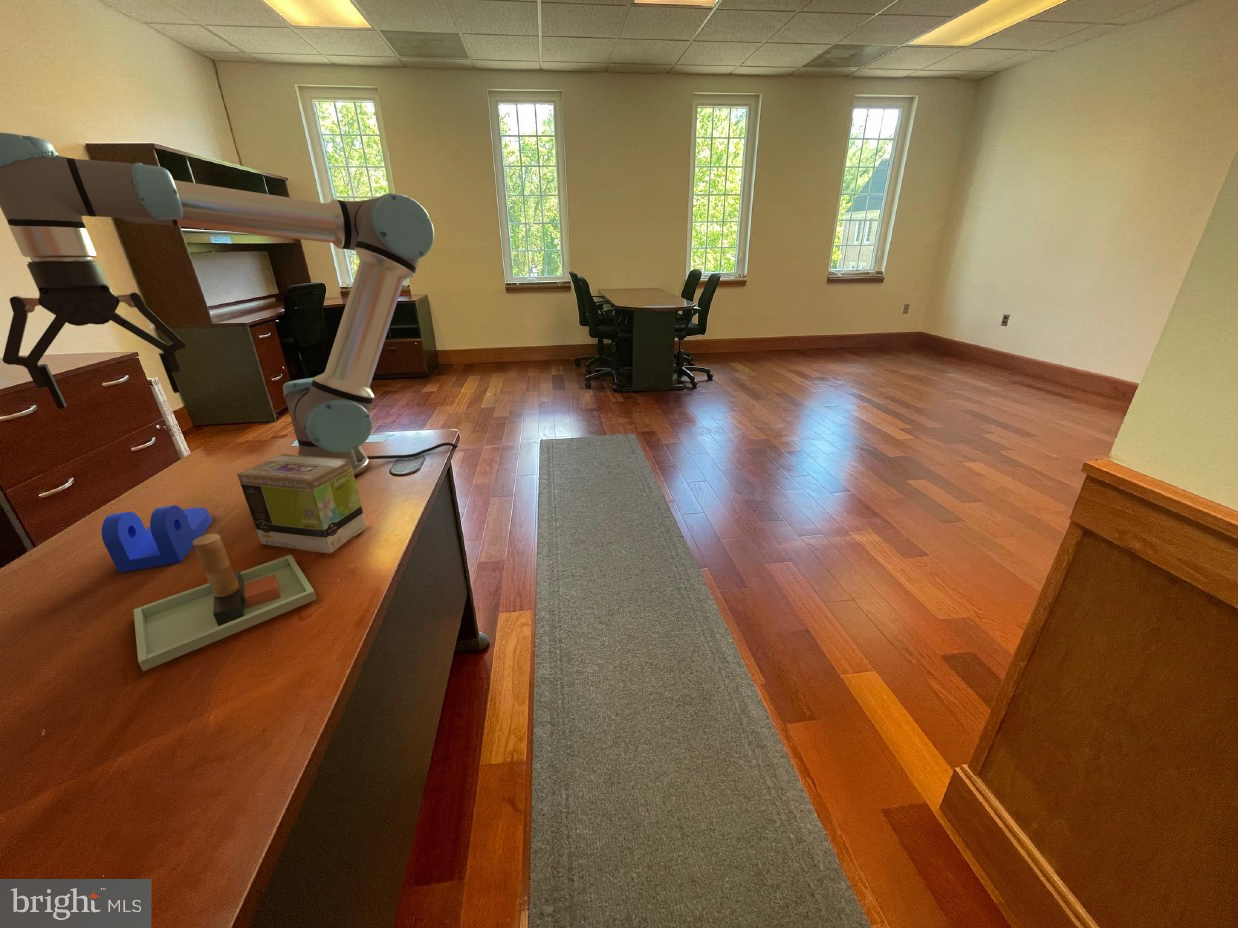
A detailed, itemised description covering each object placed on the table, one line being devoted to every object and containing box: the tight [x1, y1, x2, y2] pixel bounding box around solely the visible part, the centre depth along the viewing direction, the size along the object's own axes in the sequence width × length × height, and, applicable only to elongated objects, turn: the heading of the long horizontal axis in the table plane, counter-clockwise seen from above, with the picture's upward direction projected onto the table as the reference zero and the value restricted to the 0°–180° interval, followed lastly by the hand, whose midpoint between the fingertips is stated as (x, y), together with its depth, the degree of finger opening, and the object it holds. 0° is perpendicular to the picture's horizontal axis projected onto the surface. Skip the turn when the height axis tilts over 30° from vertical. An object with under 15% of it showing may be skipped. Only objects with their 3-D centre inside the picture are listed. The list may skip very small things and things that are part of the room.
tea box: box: [236, 453, 367, 554], centre depth 87 cm, size 15×10×15 cm, turn 78°
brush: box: [192, 533, 245, 627], centre depth 69 cm, size 3×10×12 cm, turn 36°
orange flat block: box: [244, 575, 280, 608], centre depth 73 cm, size 4×4×2 cm
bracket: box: [101, 504, 213, 574], centre depth 86 cm, size 18×8×9 cm, turn 21°
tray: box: [133, 554, 317, 672], centre depth 70 cm, size 20×14×2 cm
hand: (122, 399), depth 79 cm, fingers open, 13 cm apart
